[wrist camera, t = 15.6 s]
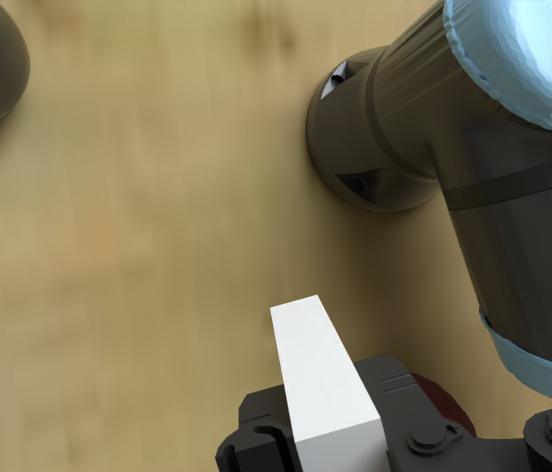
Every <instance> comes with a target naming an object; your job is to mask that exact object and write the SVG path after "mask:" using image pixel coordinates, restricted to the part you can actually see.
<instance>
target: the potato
mask: <svg viewBox="0 0 552 472" xmlns="http://www.w3.org/2000/svg"><path fill="white" fill-rule="evenodd" d="M410 375H412V376H413V378H414V379H415V380H416V382H417V384H419V386H420V387H421V388H422V390H423V391H424V392H425V394H426V395H427V396H428V398H429V399H430V400H431V402H432V403H433V404H434V406H435V407H436V408H437V410H438V411H439V412H440V414H441V415H442V417H443V418H446V419H449V420H452V421H454V422H457V423H459V424H460V425H461V426H463V427H464V428H465V429H466V430H467V431H468V432H469V433H470V434H471V435H472V437H477V435H476V431H475V428H474V426H473V424H472V422H471V421H470V419H469V417H468V415H467V414H466V413H465V412H464V411H463V409H462V408H461V407H460V406H459V405H458V403H457V402H456V401H455V400H454V398H453V397H452V396H451V395H450V394H448V393H447V392H446V391H445V390H444V389H442V388H441V387H440V386H439V385H438V384H436V383H434V382H433V381H430V380H428V379H426V378H424V377H421V376H419V375H417V374H414V373H410Z"/></svg>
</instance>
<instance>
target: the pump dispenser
mask: <svg viewBox="0 0 552 472" xmlns="http://www.w3.org/2000/svg"><path fill="white" fill-rule="evenodd" d="M29 74H30V56H29V51H28V47H27V44H26V41H25V39H24V37H23V35H22V33H21V31H20V29H19V27H18V26H17V24H16V22H15V21H14V20H13V18H12V17H11V16H10V14H9V13H8V12H7V11H6V9H5V8H4V7H3V6H2V5H1V4H0V118H1V117H3V116H4V115H5V114H7V113H8V112H9V111H10V110H11V109H12V108H13V107H14V106H15V105H16V104H17V102H18V101H19V99H20V98H21V96H22V95H23V93H24V91H25V88H26V86H27V83H28V79H29Z"/></svg>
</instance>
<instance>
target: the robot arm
mask: <svg viewBox="0 0 552 472" xmlns="http://www.w3.org/2000/svg"><path fill="white" fill-rule="evenodd" d="M307 141H308V146H309V151H310V154H311V157H312V160H313V162H314V165H315V167H316V169H317V171H318V172H319V174H320V176H321V177H322V179H323V180H324V181H325V183H326V184H327V185H328V186H329V187H330V188H331V189H332V190H333V191H334V192H335V193H336V194H337V195H338V196H339V197H341V198H342V199H343V200H345V201H346V202H348V203H350V204H352V205H354V206H356V207H358V208H361V209H364V210H367V211H372V212H383V213H386V212H395V211H400V210H405V209H409V208H413V207H416V206H418V205H421V204H423V203H425V202H426V201H428V200H430V199H431V198H433V197H434V196H435V195H437V194H438V193H439V192H440V191H441V190H442V193H443V196H444V199H445V201H446V204H447V208H448V212H449V215H450V218H451V221H452V224H453V227H454V230H455V233H456V236H457V239H458V242H459V245H460V248H461V251H462V254H463V257H464V260H465V263H466V266H467V269H468V272H469V275H470V278H471V281H472V284H473V287H474V291H475V294H476V297H477V300H478V303H479V306H480V307H479V313H480V317H481V320H482V322H483V324H484V325H485V327H486V328H487V329H488V331H489V332H490V334H491V336H492V339H493V342H494V344H495V347H496V349H497V352H498V355H499V357H500V359H501V361H502V362H503V364H504V365H505V367H506V368H507V369H508V371H510V372H511V373H513V374H514V375H515V376H516V378H517V379H518V380H520V381H521V382H522V383H523V384H524V385H526V386H527V387H529V388H531V389H533V390H534V391H536V392H538V393H540V394H543V395H545V396H547V397H550V398H552V0H438V1H437V2H436V3H435V4H434V5H433V6H432V7H431V8H430V9H429V10H428V11H427V12H425V13H424V14H423V15H422V16H421V17H420V18H419V19H418V20H417V21H416V22H415V23H413V24H412V25H411V26H410V27H409V28H408V29H407V30H406V31H405V32H404V33H403V34H402V35H400V36H399V37H398V38H397V39H396V40H395V41H394V42H393V43H392V44H390V45H386V46H382V47H378V48H373V49H369V50H365V51H362V52H359V53H357V54H355V55H353V56H351V57H349V58H347V59H346V60H344V61H343V62H341V63H340V64H339V65H338V66H337V67H336V68H334V70H333V71H332V72H331V73H330V74H329V75H328V76H327V77H326V78H325V79H324V80H323V81H322V83H321V84H320V85H319V87H318V88H317V90H316V92H315V94H314V96H313V98H312V101H311V104H310V107H309V111H308V117H307ZM270 310H271V316H272V321H273V327H274V332H275V338H276V343H277V348H278V354H279V359H280V365H281V370H282V376H283V381H284V384H282V385H279V386H275V387H271V388H268V389H264V390H261V391H257V392H254V393H250V394H247V395H246V397H245V399H244V400H243V402H242V404H241V405H240V407H239V429H238V430H237V431H235V432H234V433H232V434H231V435H229V436H228V437H227V438H226V439H225V440H224V441H223V443H222V444H221V445H220V446H219V448H218V450H217V453H216V456H215V459H216V462H217V465H218V468H219V472H552V409H550V410H547V411H543V412H540V413H537V414H535V415H534V416H533V417H531V418H530V419H529V420H528V421H526V424H525V427H524V430H523V434H524V438H518V439H482V438H477V437H472V435H471V434H470V433H469V432H468V431H467V430H466V429H465V428H464V427H463V426H461V425H460V424H459V423H457V422H454V421H452V420H449V419H446V418H443V417H442V415H441V414H440V412H439V411H438V410H437V408H436V407H435V406H434V404H433V403H432V402H431V400H430V399H429V398H428V396H427V395H426V394H425V392H424V391H423V390H422V388H421V387H420V386H419V384H417V382H416V380H415V379H414V378H413V376H412V375H410V372H409V371H408V370H407V368H406V367H405V366H404V364H403V363H402V361H400V360H398V359H396V358H394V357H392V356H389V355H387V354H383V355H380V356H376V357H373V358H369V359H366V360H362V361H358V362H355V363H352V361H351V359H350V357H349V356H348V354H347V352H346V350H345V348H344V346H343V344H342V342H341V340H340V338H339V336H338V334H337V332H336V330H335V328H334V326H333V324H332V322H331V321H330V319H329V317H328V315H327V313H326V311H325V309H324V307H323V305H322V303H321V301H320V299H319V297H318V295H315V296H311V297H307V298H304V299H300V300H296V301H293V302H289V303H286V304H282V305H278V306H275V307H271V308H270Z"/></svg>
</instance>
